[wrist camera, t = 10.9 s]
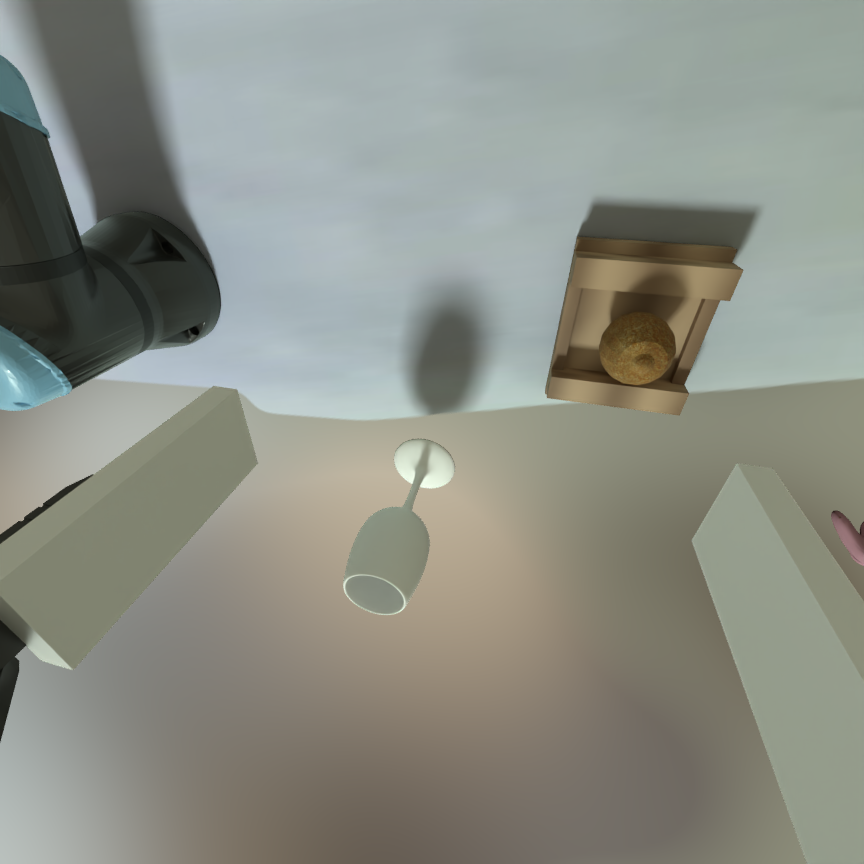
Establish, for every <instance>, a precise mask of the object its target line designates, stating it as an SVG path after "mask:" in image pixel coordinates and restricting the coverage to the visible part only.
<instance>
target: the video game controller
mask: <svg viewBox="0 0 864 864" xmlns="http://www.w3.org/2000/svg"><path fill="white" fill-rule="evenodd" d="M831 517H832V521H833V524H834V526H835V529H836V531H837V532H838V535H839V537H840V539H841V540H842V542H843V544H844V545H845V546H846V548H847V549H848V551H849V552H850V555H851V556H852V558H853V559H854V560H855V561H856V562H857V563H859V564H861V565H863V566H864V522H863V523H862V525H861V527H860V534H859V533H858V532H857V531H856V529H855V528H854V526H853V525H852V524H851V523H850V521H849V520H848V519H847V518H846V517H845V516H844V515H843V514H842V513H841V512H839V511H833V512H832V514H831Z"/></svg>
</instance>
